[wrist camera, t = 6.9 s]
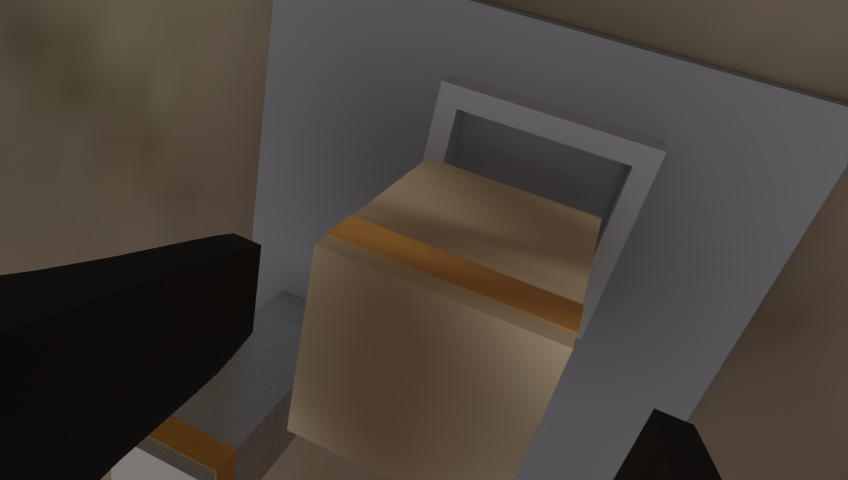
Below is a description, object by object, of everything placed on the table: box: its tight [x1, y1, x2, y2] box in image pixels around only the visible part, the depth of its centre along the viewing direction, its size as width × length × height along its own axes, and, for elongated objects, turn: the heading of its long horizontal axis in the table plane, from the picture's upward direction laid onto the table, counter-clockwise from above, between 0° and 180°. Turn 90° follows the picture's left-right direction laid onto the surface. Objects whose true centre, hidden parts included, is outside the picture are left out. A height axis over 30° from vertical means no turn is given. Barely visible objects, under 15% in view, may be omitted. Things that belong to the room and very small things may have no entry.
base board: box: [252, 0, 848, 480], centre depth 18 cm, size 16×16×2 cm
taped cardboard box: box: [287, 157, 602, 480], centre depth 11 cm, size 4×4×5 cm
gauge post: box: [111, 290, 306, 480], centre depth 18 cm, size 3×3×8 cm
